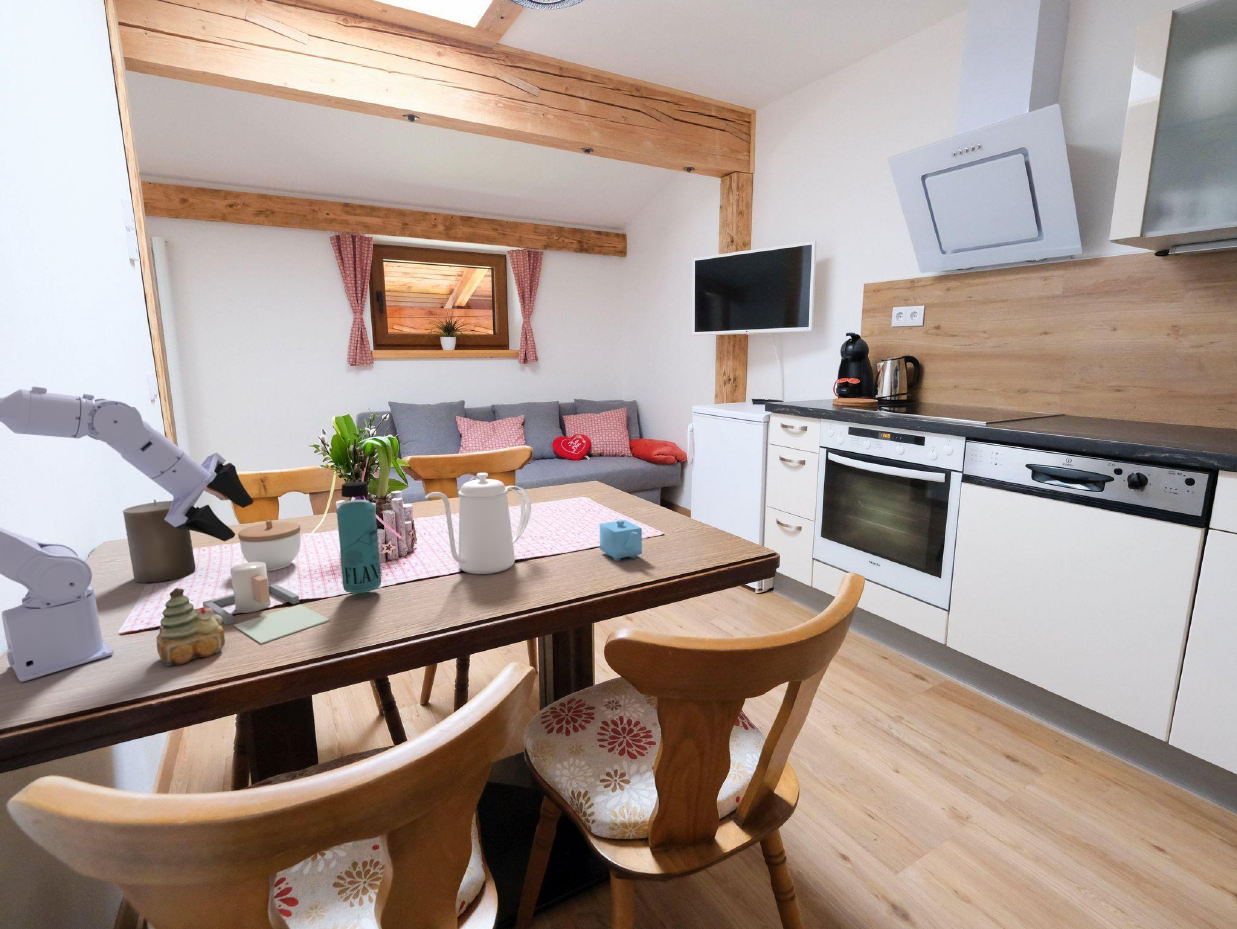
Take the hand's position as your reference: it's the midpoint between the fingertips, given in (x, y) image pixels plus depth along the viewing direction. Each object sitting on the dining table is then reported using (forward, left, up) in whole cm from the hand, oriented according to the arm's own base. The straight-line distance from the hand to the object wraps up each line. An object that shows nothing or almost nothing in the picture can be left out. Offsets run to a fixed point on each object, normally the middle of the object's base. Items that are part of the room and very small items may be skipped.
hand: (239, 520), depth 98 cm
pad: (0, -11, -15) cm, 19 cm away
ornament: (-12, -12, -15) cm, 23 cm away
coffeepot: (+36, -16, -15) cm, 43 cm away
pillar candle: (-4, +31, -15) cm, 34 cm away
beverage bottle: (+14, -10, -15) cm, 23 cm away
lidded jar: (+11, +19, -15) cm, 26 cm away
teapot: (+57, -34, -15) cm, 69 cm away
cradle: (0, 0, -15) cm, 15 cm away
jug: (0, -2, -15) cm, 15 cm away
